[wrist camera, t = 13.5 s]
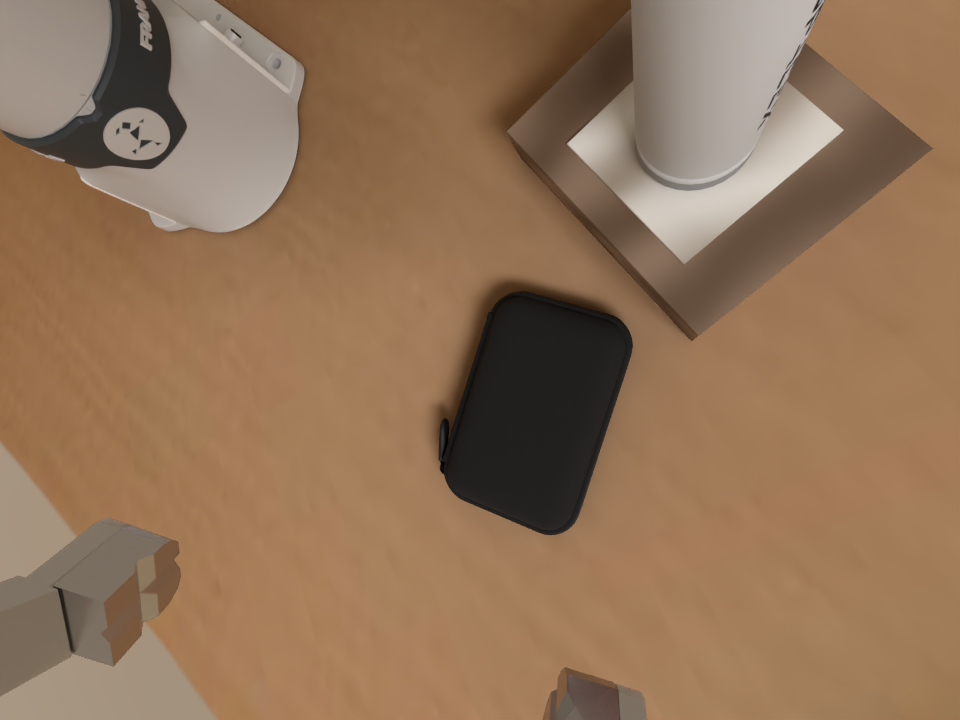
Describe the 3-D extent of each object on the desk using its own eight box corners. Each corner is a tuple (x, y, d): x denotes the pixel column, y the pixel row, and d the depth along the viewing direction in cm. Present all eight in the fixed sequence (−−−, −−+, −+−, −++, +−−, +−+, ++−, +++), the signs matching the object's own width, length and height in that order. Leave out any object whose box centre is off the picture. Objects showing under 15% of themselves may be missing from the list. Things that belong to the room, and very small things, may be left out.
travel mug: (616, 111, 29) (567, -377, 10) (736, 61, 28) (943, -646, 9) (647, 211, 29) (656, -120, 10) (773, 166, 27) (1090, -353, 8)
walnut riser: (521, 158, 36) (505, 129, 32) (684, -1, 33) (690, -55, 29) (691, 341, 32) (698, 335, 28) (894, 179, 29) (935, 146, 25)
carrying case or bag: (491, 284, 36) (432, 478, 37) (478, 276, 33) (414, 487, 34) (641, 326, 33) (572, 537, 34) (641, 320, 30) (566, 552, 31)
